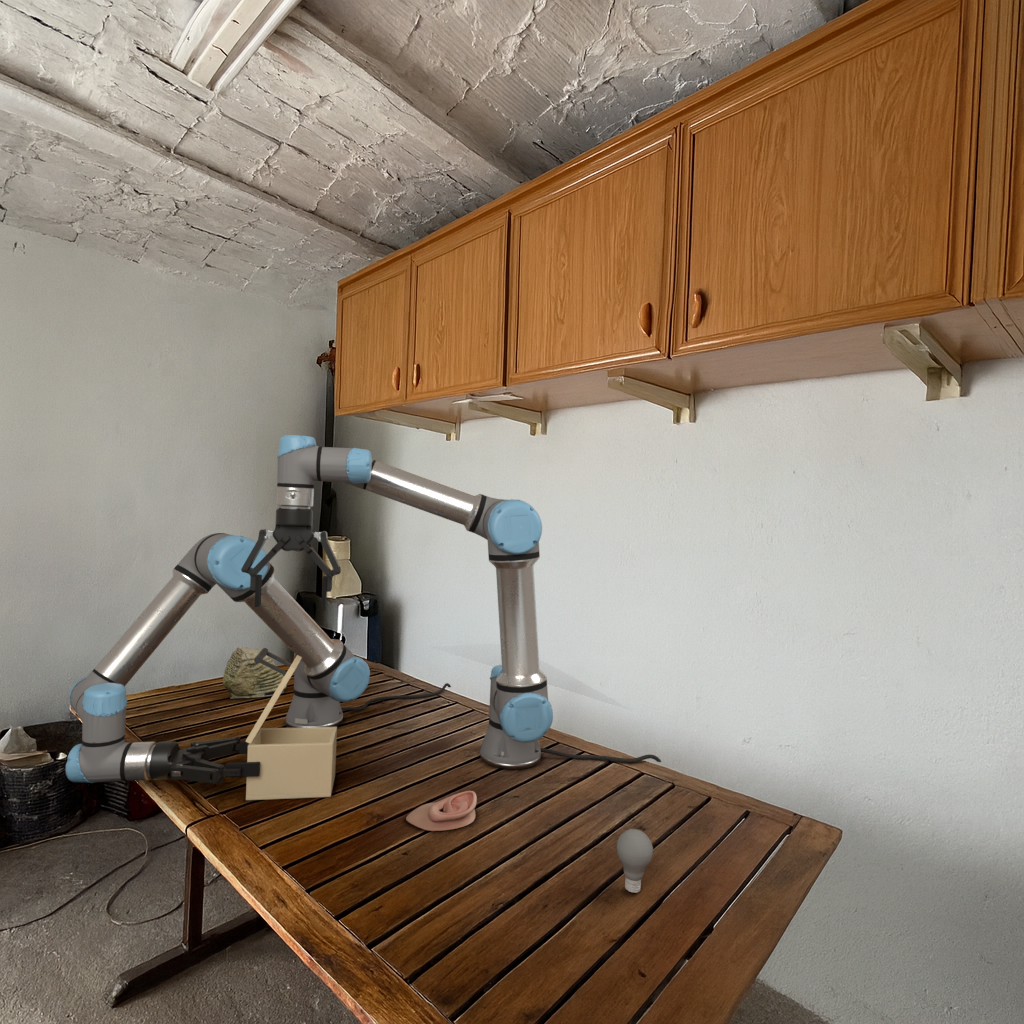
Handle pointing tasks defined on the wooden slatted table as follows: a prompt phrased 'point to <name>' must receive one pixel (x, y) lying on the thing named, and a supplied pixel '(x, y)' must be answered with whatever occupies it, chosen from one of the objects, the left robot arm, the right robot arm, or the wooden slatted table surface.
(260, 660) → the lid
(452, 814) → the anatomical model
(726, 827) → the wooden slatted table surface
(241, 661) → the fossil
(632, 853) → the light bulb
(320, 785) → the chest
